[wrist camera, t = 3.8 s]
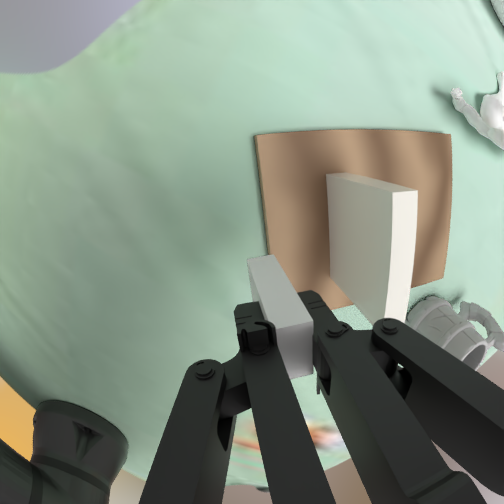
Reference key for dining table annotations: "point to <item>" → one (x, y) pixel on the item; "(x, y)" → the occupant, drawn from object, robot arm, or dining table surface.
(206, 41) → the dining table surface
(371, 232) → the tile
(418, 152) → the board
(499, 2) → the vase
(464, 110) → the person figurine
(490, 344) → the mug
